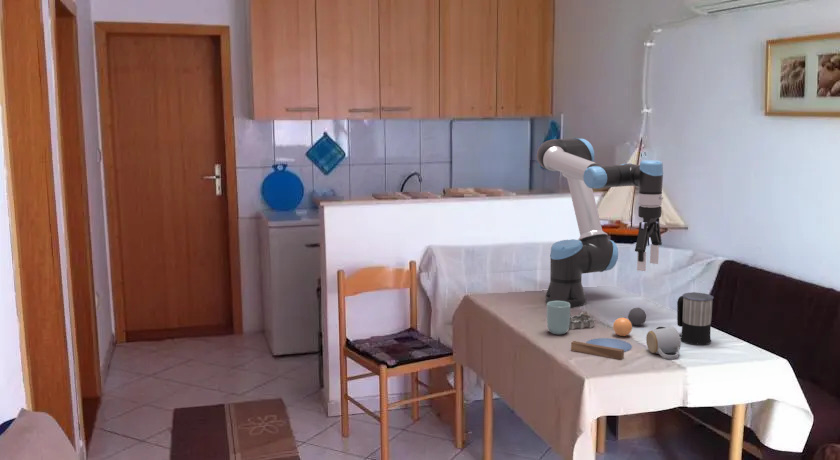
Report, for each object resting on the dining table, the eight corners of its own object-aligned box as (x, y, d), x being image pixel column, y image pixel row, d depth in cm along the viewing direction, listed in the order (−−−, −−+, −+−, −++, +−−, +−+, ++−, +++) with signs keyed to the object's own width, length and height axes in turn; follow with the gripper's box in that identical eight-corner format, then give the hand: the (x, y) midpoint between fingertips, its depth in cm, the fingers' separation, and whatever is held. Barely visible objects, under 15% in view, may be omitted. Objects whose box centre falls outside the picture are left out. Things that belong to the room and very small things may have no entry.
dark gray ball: (631, 321, 266) (631, 304, 265) (648, 324, 263) (649, 307, 262) (625, 325, 261) (625, 308, 260) (642, 328, 258) (643, 311, 257)
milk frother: (717, 342, 243) (720, 296, 240) (684, 351, 234) (686, 304, 232) (681, 331, 254) (682, 287, 252) (648, 339, 246) (649, 294, 244)
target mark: (596, 336, 250) (596, 335, 250) (638, 343, 243) (638, 342, 243) (578, 347, 239) (578, 347, 239) (622, 355, 231) (622, 355, 231)
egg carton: (587, 322, 267) (587, 311, 266) (596, 328, 260) (597, 317, 259) (558, 324, 265) (558, 313, 264) (567, 330, 258) (567, 319, 257)
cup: (569, 336, 250) (570, 307, 249) (545, 335, 252) (546, 306, 250) (570, 329, 258) (570, 301, 256) (546, 328, 259) (547, 300, 258)
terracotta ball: (616, 331, 255) (617, 314, 254) (634, 334, 251) (635, 317, 250) (610, 336, 250) (610, 318, 249) (628, 339, 246) (628, 321, 245)
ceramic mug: (644, 349, 237) (645, 325, 235) (668, 347, 238) (670, 323, 237) (660, 361, 226) (661, 336, 225) (686, 359, 228) (687, 334, 226)
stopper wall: (573, 348, 238) (573, 340, 238) (623, 357, 229) (624, 349, 229) (571, 350, 237) (571, 342, 236) (621, 359, 228) (621, 351, 227)
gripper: (648, 211, 251) (646, 275, 254) (672, 202, 270) (669, 261, 274) (626, 209, 255) (624, 272, 258) (651, 200, 275) (649, 259, 278)
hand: (647, 267), depth 266 cm, fingers open, 12 cm apart
